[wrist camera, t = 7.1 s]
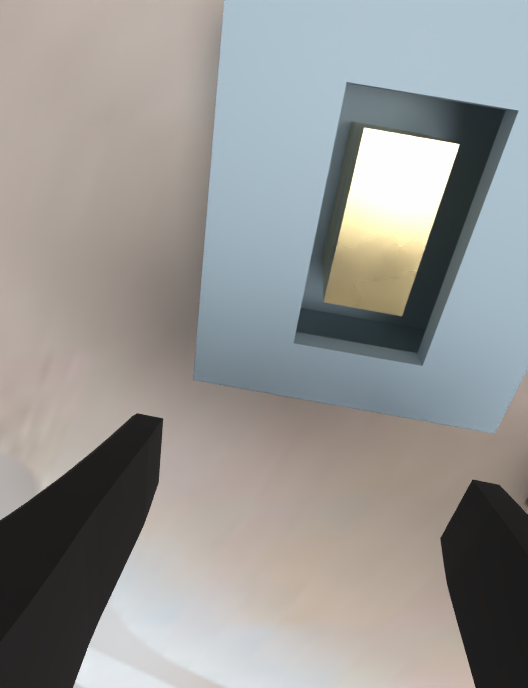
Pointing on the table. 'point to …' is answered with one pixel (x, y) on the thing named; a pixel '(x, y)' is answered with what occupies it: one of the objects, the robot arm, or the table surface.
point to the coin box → (319, 194)
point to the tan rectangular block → (383, 216)
